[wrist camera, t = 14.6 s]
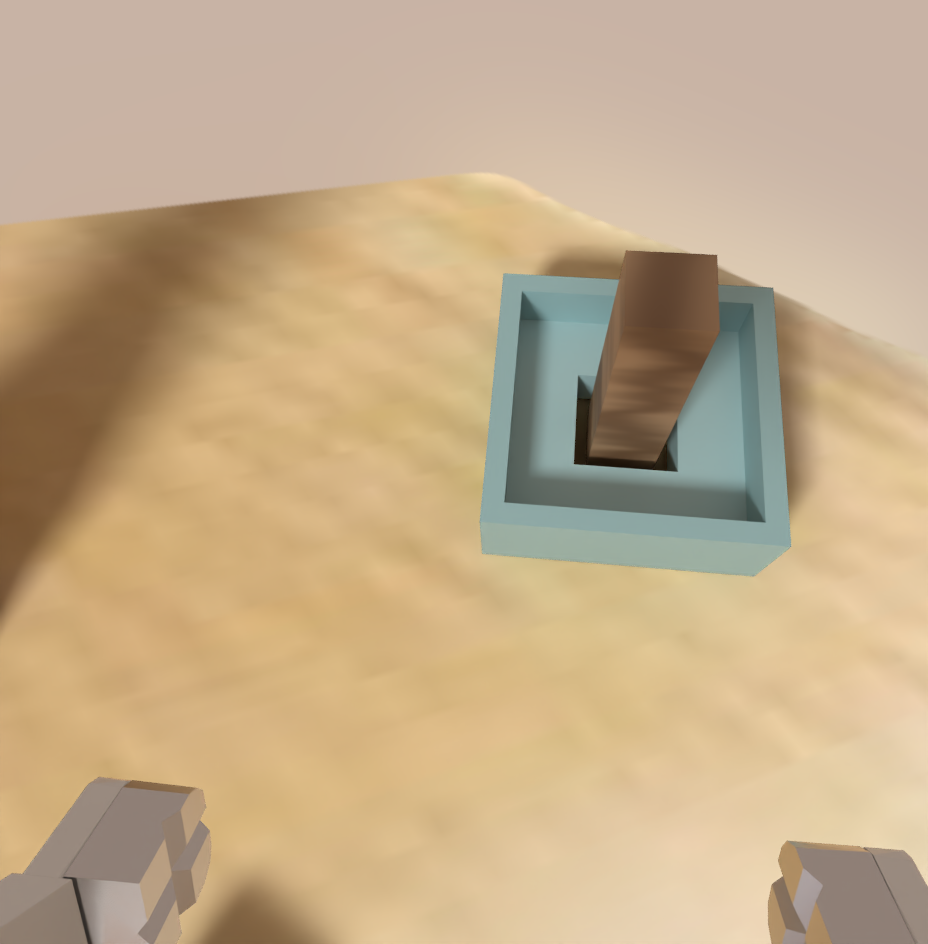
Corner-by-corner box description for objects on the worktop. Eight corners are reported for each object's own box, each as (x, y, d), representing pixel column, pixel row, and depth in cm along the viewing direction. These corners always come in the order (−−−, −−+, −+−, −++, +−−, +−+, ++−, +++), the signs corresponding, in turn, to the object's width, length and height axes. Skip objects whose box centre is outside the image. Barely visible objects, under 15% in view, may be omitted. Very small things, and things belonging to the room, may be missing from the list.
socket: (482, 553, 45) (479, 521, 39) (503, 328, 51) (503, 273, 45) (754, 576, 44) (791, 546, 38) (742, 342, 50) (773, 287, 44)
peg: (585, 469, 47) (624, 326, 32) (587, 413, 48) (626, 250, 33) (650, 474, 46) (719, 331, 32) (650, 417, 48) (717, 255, 33)
